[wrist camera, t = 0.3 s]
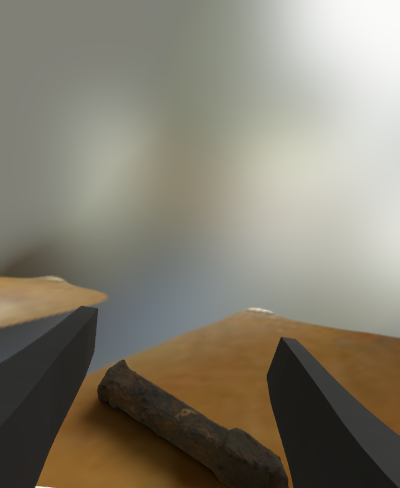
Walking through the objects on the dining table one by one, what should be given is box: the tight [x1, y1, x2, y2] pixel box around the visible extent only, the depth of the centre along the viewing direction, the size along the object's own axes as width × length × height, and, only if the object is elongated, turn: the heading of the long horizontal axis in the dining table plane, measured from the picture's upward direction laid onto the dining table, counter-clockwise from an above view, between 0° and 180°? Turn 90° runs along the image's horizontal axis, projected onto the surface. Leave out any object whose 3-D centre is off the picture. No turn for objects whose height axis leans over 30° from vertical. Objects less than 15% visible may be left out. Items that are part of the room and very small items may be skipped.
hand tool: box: [97, 360, 289, 488], centre depth 27 cm, size 19×4×5 cm, turn 61°
